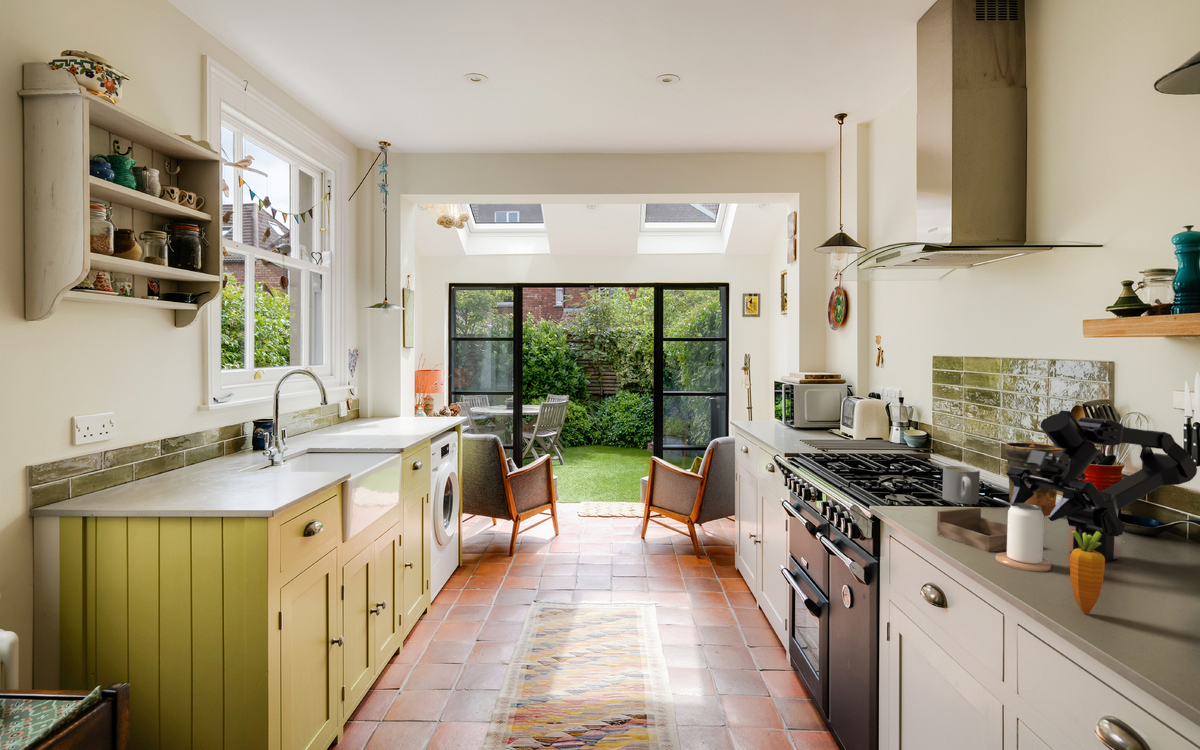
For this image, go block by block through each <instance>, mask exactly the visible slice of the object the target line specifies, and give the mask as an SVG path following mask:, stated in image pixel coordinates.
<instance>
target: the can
mask: <svg viewBox="0 0 1200 750" xmlns="http://www.w3.org/2000/svg"><path fill="white" fill-rule="evenodd" d="M1041 509H1042V508H1041V507H1039V506H1036V505H1032V504H1026V503H1011V507H1010V508H1009V510H1008V511H1007V525H1008V527H1007V549H1006V552H1007V556H1008V558H1009V559H1011V560H1013V561H1016V562H1019V563H1024V564H1040V563H1041V562H1042V559H1044V558H1043V554H1044V553H1043V551H1044V526H1045V523H1044V521H1045V517H1044V515H1043V513H1042V511H1041Z"/></svg>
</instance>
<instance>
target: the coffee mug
mask: <svg viewBox="0 0 1200 750" xmlns="http://www.w3.org/2000/svg"><path fill="white" fill-rule="evenodd" d="M980 472H981V471H980V470H979V469H977V468H974V467H971V466H970V467H969V466H960V465H946V466H945V465H944V466H943V469H942V496H941V497H942V499H943V500H945V501H948V502H952V503H957V504H958V503H959V504H968V505H969V504H971V505H975V504H979V502H980V501H979V500H980V475H981V473H980Z"/></svg>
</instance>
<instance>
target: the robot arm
mask: <svg viewBox="0 0 1200 750" xmlns="http://www.w3.org/2000/svg"><path fill="white" fill-rule="evenodd" d="M1040 428H1041V430H1042V431H1043V433H1045V435H1046V436H1047V437H1048V439H1049V440H1050V442H1052V445H1055V446H1056V447H1058V448H1063V449H1062V450H1061V451H1060V452H1056V453H1055V454H1050V453H1047V452H1042V451H1036V450H1031V451H1030V453H1029V456H1028V458H1027V461H1026V463H1027V464H1030V465H1032V466H1034V467H1036V468H1037V469H1036V472H1037V473H1038V474H1041V478H1040V477H1036V476H1034V475H1033V474H1032V472H1031V471H1030V470H1029V469H1025V468H1020V467H1011V468H1010V469H1008V470H1007V472H1006V476H1008V479H1009V478H1010V479H1011V481H1012V482H1013V483H1014V490H1013V495H1012V499H1011V503H1024V502H1026V501H1027V500H1028V499H1029V498H1031V497H1032V496H1033V495H1034V493H1033V492H1034V491H1037V489H1038V488H1039V486H1040V487H1044V488H1048V489H1052V490H1055V491H1057V492H1061V493H1062V497H1061V498H1060V500H1059V501H1058V502H1057V503H1056V505H1055V508H1054V509H1053V510H1052V512H1051V513H1050V515H1049V517H1047V518H1048V519H1049V521H1051V522H1055V521H1056V520H1059V519H1061V518H1064V517H1066V519H1067V520H1066V521H1067V523H1068V526H1070V527H1073V528H1075V530H1074V531H1076V532H1077V533H1078V534H1079V535H1080V537H1081V539H1082V542H1083V533H1086V534H1087V535H1091V536H1092V537H1093V535H1094V534H1095V532H1096V531H1098V532H1100V533H1101V534H1102V535H1101V537H1100V539H1099V540H1098V541H1097V542H1099V543H1101V545H1099V546H1098V547H1096V548H1095V549H1093V550H1094V551H1096V552H1099V553H1101V554H1102V555H1103V556H1104V558H1105V563H1107V562H1111V561H1117V560H1119V557H1118V556H1116V555H1115V537H1120V536H1122V535H1123V533H1124V530H1125V524H1124V523H1123V522H1122V521H1121V519H1120V518H1119V511H1120V510H1121V509H1123V508H1124V507H1126V506H1128V505H1130V504H1132V503H1134V502H1135V501H1138V500H1139V499H1141V498H1142V497H1144V496H1147V495H1148V494H1150V493H1152V492H1154V491H1156V490H1157V489H1159V488H1161V487H1164V486H1176V485H1179V486H1180V485H1182V484H1186V483H1188V482H1190V481H1192V480H1193V479H1194V477H1195V476H1196V475H1197V472H1198V467H1197V465H1196V463H1195V461H1194V459H1193V458H1192V455H1191V454H1190V452H1189V451H1188V450H1186V449H1185V448H1184V447H1182V446H1181V445H1180V444H1178V443H1177V442H1176V441H1175V438H1174V437H1173V436H1172V434H1171V433H1169V432H1167V431H1157V430H1150V429H1148V430H1147V429H1146V430H1145V429H1139V428H1133V427H1127V426H1124V424H1122V423H1120V422H1117V421H1115V420H1112V419H1104V418H1103V419H1102V418H1093V417H1086V416H1085V417H1079V419H1078V420H1076V418H1075V416H1074V415H1073V413H1072V411H1070V410H1062V409H1061V410H1059V412H1058V413H1054V414H1051V415H1048V416H1047V417H1046V418H1043V420H1042V421H1041V422H1040ZM1121 444H1130V445H1135V446H1136V445H1137V446H1140V447H1141V451H1140V453H1139V454H1140V455H1139V458H1140V460H1141V469H1139V470H1138V471H1136V472H1134V473H1132V474H1130V475H1128V476H1127V477H1125V478H1123V479H1121V480H1119V481H1117V482H1116V483H1114V484H1112V485H1109V486H1108V487H1106V488H1105V489H1103V490H1099V489H1098V487H1096V485H1095V484H1094V483H1093V482H1092V481H1088V480H1085V479H1086V478H1087V475H1086V474H1085V472H1086V470H1087V469H1088V468H1089V466H1090V465H1091V464H1092V462H1099V463H1102V462H1103V461H1104V456H1103V454H1102V450H1101V449H1098V448H1097V447H1096V445H1101V446H1102V445H1103V446H1118V445H1121ZM1153 449H1158V450H1159V449H1160V450H1162V451H1163V452H1164V453H1165V454H1164V453H1159V452H1155V453H1154V451H1153ZM1011 503H1010V502H1009V506H1010V507H1011ZM1090 540H1091V539H1090ZM1075 549H1081V547H1080V545H1079V543H1078V542H1077V540H1076V538H1075V536H1074V535H1073V534H1072V550H1070V551H1069V554H1071V552H1072V551H1073V550H1075Z"/></svg>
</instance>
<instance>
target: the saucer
mask: <svg viewBox="0 0 1200 750" xmlns="http://www.w3.org/2000/svg"><path fill="white" fill-rule="evenodd" d="M995 561H996V562H997V563H999V564H1001V565H1004V566H1006V567H1009V568H1012V569H1017V570H1020V571H1025V572H1026V571H1028V572H1037V573H1038V572H1039V573H1041V572H1049V571H1050V570H1051V569H1052V564H1051V562H1050V561H1048V560H1046V559H1044V558H1042V562H1041V563H1040V564H1024V563H1019V562H1016V561H1013V560H1011V559H1009V558H1008V556H1007V551H1006V552H1003V551H1002V552H998V553H996V554H995Z"/></svg>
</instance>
